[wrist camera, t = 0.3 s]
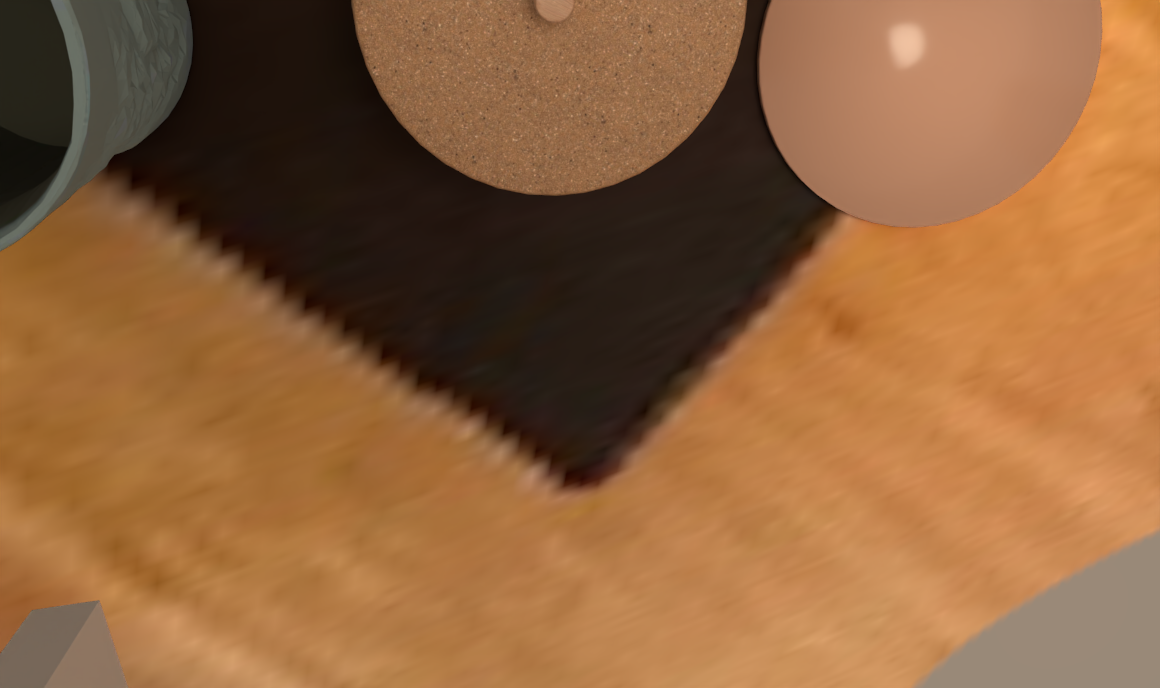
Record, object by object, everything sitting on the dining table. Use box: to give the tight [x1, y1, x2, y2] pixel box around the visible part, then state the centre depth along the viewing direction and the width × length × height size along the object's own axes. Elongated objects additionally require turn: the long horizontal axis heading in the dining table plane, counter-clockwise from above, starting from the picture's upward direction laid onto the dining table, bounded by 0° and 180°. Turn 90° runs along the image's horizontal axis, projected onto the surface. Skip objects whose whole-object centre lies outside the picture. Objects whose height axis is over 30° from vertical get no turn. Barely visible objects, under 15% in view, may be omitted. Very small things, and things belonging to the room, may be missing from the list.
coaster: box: [757, 0, 1102, 227], centre depth 37 cm, size 12×12×1 cm
